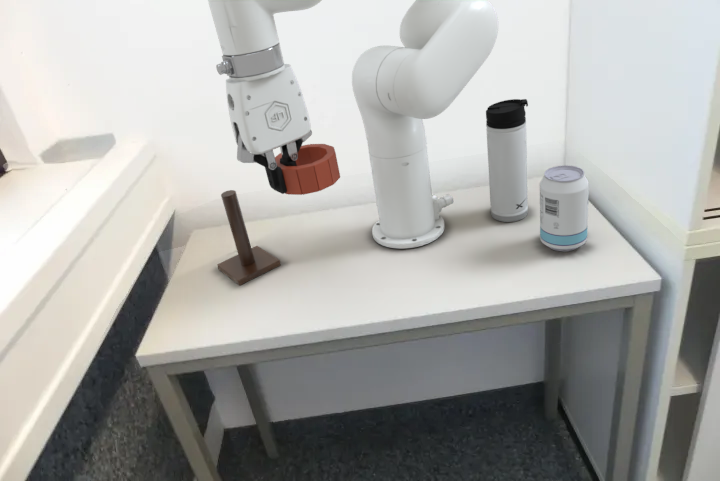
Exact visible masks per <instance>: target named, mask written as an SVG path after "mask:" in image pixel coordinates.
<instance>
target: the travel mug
mask: <svg viewBox="0 0 720 481" xmlns="http://www.w3.org/2000/svg"><path fill="white" fill-rule="evenodd" d="M525 106H526V108H527V107H528V106H529V101H528V99H526V98H523V99H519V98H514V99H513V98H511V99H505V100H501V101H497V102H495V103H493V104H491V105H489V106H488V107H487V109H486V110H485V119H486V121H485V123H486V124H485V127H486V129H485V130H486V145H487V146H486V148H487V163H488V166H487V168H488V182H489V183H488V184H489V203H490V215H491V217H492V218H493V219H494V220H496V221H498V222H503V223H514V222H518V221H520V220H523V219H524V218H526V217H527V216H528V214H529V206H528V205H529V202H528V201H529V200H528V196H529V195H528V192H529V191H528V151H527V143H528V142H527V118H526V108H525Z"/></svg>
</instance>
